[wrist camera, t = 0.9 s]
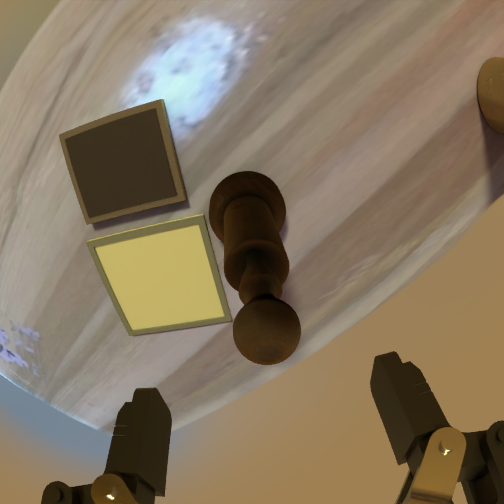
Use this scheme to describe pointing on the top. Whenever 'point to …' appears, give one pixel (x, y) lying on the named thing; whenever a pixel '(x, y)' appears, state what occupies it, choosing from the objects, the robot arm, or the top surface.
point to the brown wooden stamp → (256, 264)
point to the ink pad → (123, 163)
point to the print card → (162, 276)
